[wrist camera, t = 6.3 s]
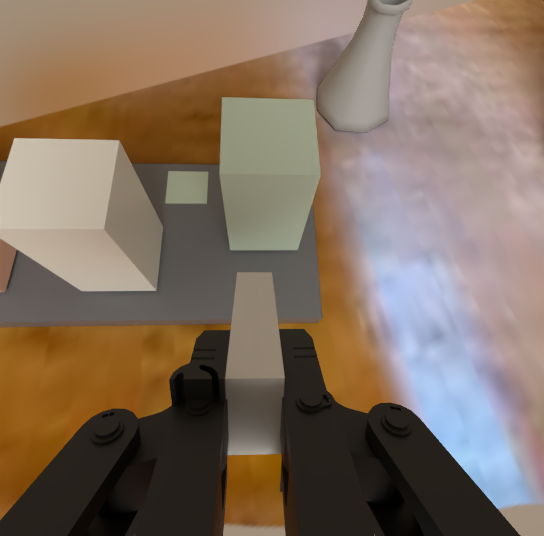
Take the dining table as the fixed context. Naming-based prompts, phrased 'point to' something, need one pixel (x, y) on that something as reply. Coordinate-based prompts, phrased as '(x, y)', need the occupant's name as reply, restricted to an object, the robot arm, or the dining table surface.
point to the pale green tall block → (267, 170)
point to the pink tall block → (6, 263)
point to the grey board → (172, 267)
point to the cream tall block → (81, 213)
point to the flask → (363, 71)
